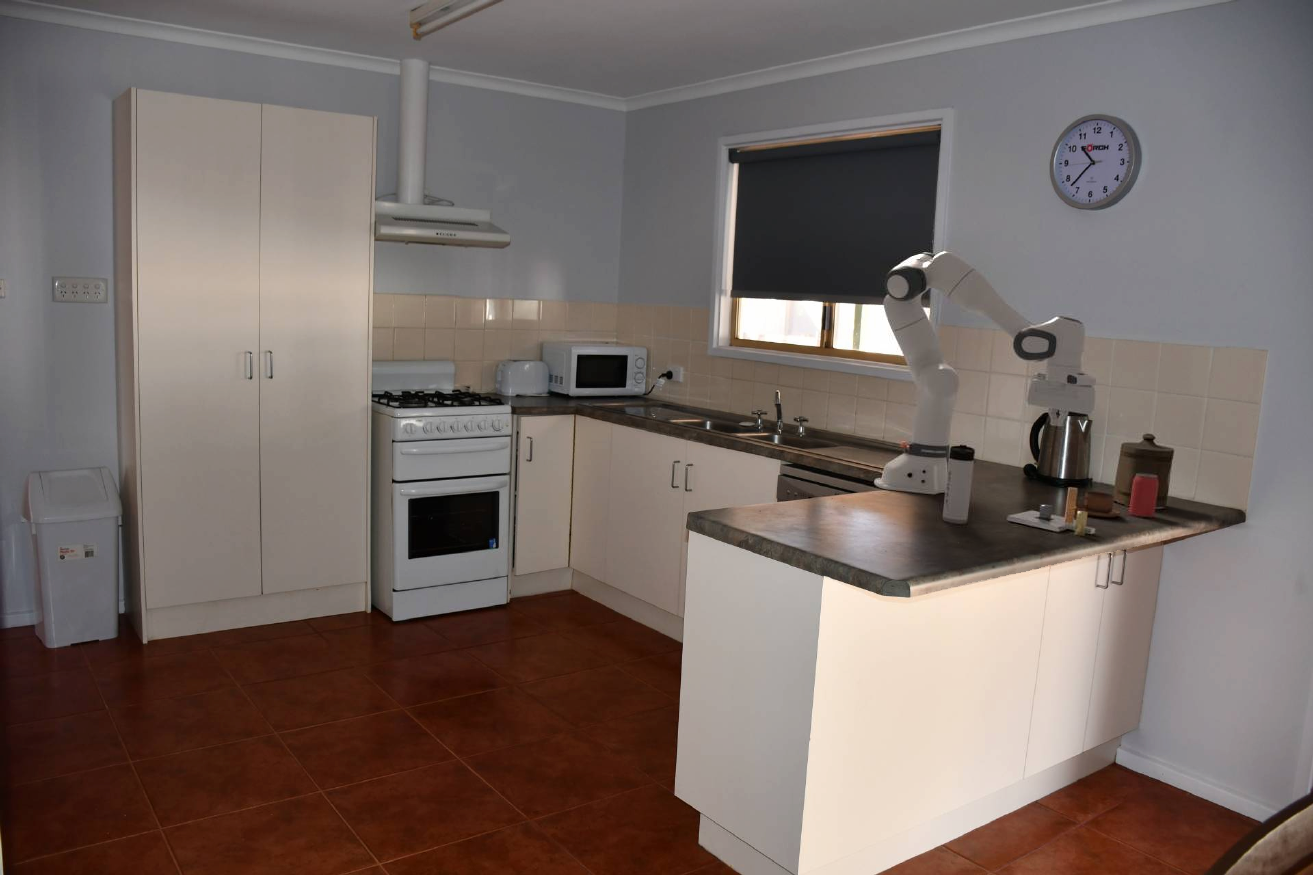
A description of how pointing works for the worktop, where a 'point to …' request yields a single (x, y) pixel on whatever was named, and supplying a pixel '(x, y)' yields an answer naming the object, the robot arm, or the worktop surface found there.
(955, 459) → the travel mug
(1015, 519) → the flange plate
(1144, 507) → the beer can
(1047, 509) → the grey rectangular block
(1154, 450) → the wooden container
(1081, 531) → the brass dowel
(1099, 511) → the cup and saucer
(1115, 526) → the worktop surface
